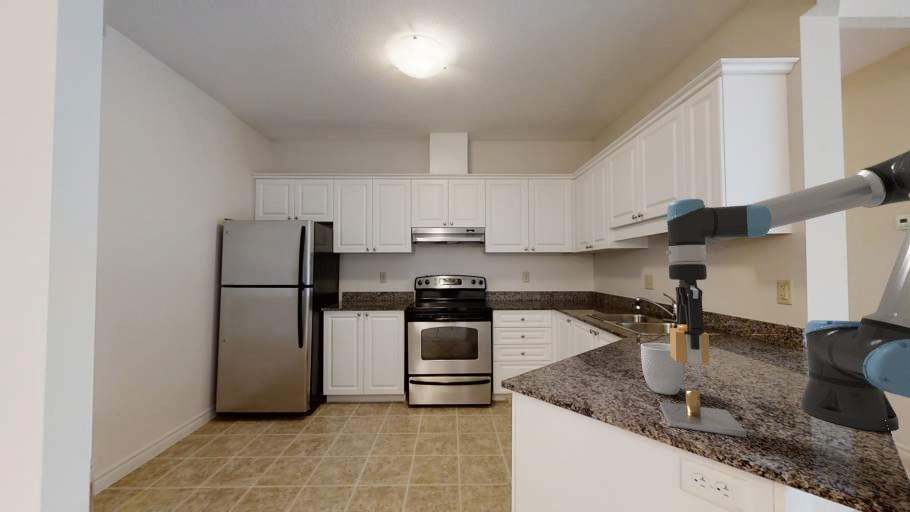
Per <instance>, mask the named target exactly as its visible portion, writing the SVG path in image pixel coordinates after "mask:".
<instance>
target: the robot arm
mask: <svg viewBox="0 0 910 512" xmlns="http://www.w3.org/2000/svg"><path fill="white" fill-rule="evenodd" d="M903 202H910V150H908V151H906V152H903V153H901V154H898V155H896V156H894V157H891V158H888V159H887V160H884V161H881V162H879V163H876V164H874V165H871V166H868V167H866V168H865V167H863V168H860V169H857V170H855V171H853V172H851V174H849V176H848V177H845V178H840V179H836V180H832V181H831V182H826V183H822V184H819V185H815V186H812V187H807V188H804V189H801V190H798V191H793V192H790V193H787V194H782V195H779V196H775V197H771V198H768V199H765V200H761V201H758V202H754V203H750V204H746V205H731V206H718V207H717V206H716V207H713V206H711V207H710V206H709V207H708V206H707V207H706V205H705V202H704V200H703V199H701V198H687V199H679V200H675V201H672V202H671V203H669V204H668V205H667V213H666V214H667V218H666V223H667V240H668V241H667V243H668V244H667V245H668V246H667V247H668V250H666V251H665V254H666V255H668V262H669V263H671V264H669V265H668V278H669V279H670V280H675V281H676V280H677V281H679V282H678V286H676V287H675V294H676V297H675V298H676V326H677V325H680V324H683V325H687V331H685V332H684V334H686V345H687V362H688V363H687V364H690V363H695V364H697V365H701V364H702V350H701V334H704V332H705V329H704V328H705V327H704V312H703V311H704V309H703V293H704V292H703V290H702V289H701V288H700V287H698V282H697V281H705V280H706V279H707V276H708V274H707V271H708V270H707V265H706V264H704V263H705V262H706V261H707V245H706V244H712V245H713V244H716V243H720V242H724V241H729V240H734V239H742V238H743V239H745V238H748V239H751V238H761V237H764V236H766V235H767V234H768V233H769V232H770V230H771V229H774V228H775V229H776V228H779V227H784V226H787V225H791V224H795V223H796V224H797V223H799V222H804V221H807V220H810V219H815V218H819V217H824V216H826V215H827V216H828V215H831V214H836V213H840V212H843V211H849V210H852V209H855V208H860V207H862V208H866V209H871V208H872V209H874V208H876V207H877V208H878V207H881V206H885V205H891V204H897V203H903ZM805 337H806V338H805V339H806V351H807V364H808V367H807V368H808V381H807V383H806V385H805V387H804V391H803V393H802V394H801V398H800V408H801V410H802V411H803V412H805V413H806V414H809V415H811V416H813V417H815V418H818V419H820V420H823V421H827V422H828V423H829V422H830V423H832V424H833V423H834V424H838V425H841V426H845V427H850V428H855V429H859V430H860V429H861V430H868V431H876V432H895V431H898V430H899V429H900V424H899V418H898V416H897V414H896V412H895V410H894V407H893V406H892V404H891V402H890V401H889V399H888V396H887V395H886V393H885V392H887V393H889V394H893V395H897V396H902V397H904V398H908V399H910V224H909V225H908V228H907V230H906V234H905V235H904V239H903V241H902V244H901V246H900V249H899V251H898V254H897V257H896V260H895V261H894V265H893V267H892V270H891V273H890V275H889V277H888V280H887V283H886V285H885V288H884V291H883V293H882V296H881V299H880V301H879V304H878V307H877V309H876V311H875V312H872V313H870V314H867V315H863V316H862V317H861V320H859V321H857V320H822V319H821V320H818V319H817V320H816V319H814V320H809V321H808V322H807V323H806V326H805ZM885 420H886V421H885ZM887 425H888V426H887ZM888 428H889V430H890V431H889V430H888Z"/></svg>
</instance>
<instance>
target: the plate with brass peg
mask: <svg viewBox="0 0 910 512" xmlns="http://www.w3.org/2000/svg"><path fill="white" fill-rule="evenodd" d="M684 391H685V404H681V403H680V404H679V403H672V402H663V401H659V408H660V409H661V411H662V414H663V415H664V418H665V420H666V422H667V424H668V425H669V427H673V428H679V429H686V430H693V431H700V432H706V433H713V434H718V435H719V434H720V435H728V436H735V437H741V438H747V437H748V436H747V435H748V434H747V431H746V430H745V429H744V428H743V426H742V425H741V424H740V423H739V422H738V421H737V420H736V419H735V418H734V417H733V416H732V414H730V412H728V411H727V410H726V409H720V408H714V407H713V408H712V407H707V406H706V407H705V406H701V392H700V391H699V390H696V389H694V388H690V389H684Z"/></svg>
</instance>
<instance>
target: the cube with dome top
mask: <svg viewBox="0 0 910 512" xmlns="http://www.w3.org/2000/svg"><path fill="white" fill-rule="evenodd" d="M676 326H677V327H675V328H674V327H669V333H670V334H669V335H670V336H669V344H670V353H671V357H672V358H673V359H674V360H675V361H676V362H681V363H685V364H689V363H688V362H687V345H686V334H684V332H685V331H687V325H683V324H680V325H677V324H676ZM709 337H710V335H709V333H707V332H705V331H704V334H701V350H702V364H700V365H704V366H710V342H709V341H710V340H709V339H710V338H709ZM692 364H695V363H691V364H690V365H692Z"/></svg>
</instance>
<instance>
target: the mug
mask: <svg viewBox="0 0 910 512" xmlns="http://www.w3.org/2000/svg"><path fill="white" fill-rule="evenodd" d="M640 353H641V354H640V357H641V367H642V372H643V373H642V374H643V376H644V379H645V382H646V385H647V386H648V388H649V389H650V390H651V391H652V392H654V393H657V394H660V395H666V396H667V395H668V396H670V395H671V396H672V395H673V396H674V395H676V394H678V393H679V392H680V390H681V389H684V390H686V389H694V388H696V387H698V386H700V384H701V382H702V376H703V374H702V370H701V368H700V366H699V364H691V363H689V364H690V365H692V366H693V367H694V369H695V371H696V373H697V377H696V380H695V382H694V383H692V384H683V383H684V379H685V374H686V373H685V372H686V363H681V362H676V361H675V360H674V359H673V358H672V357H671V353H670V343H663V342H661V343H660V342H643V343H641V345H640Z"/></svg>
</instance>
